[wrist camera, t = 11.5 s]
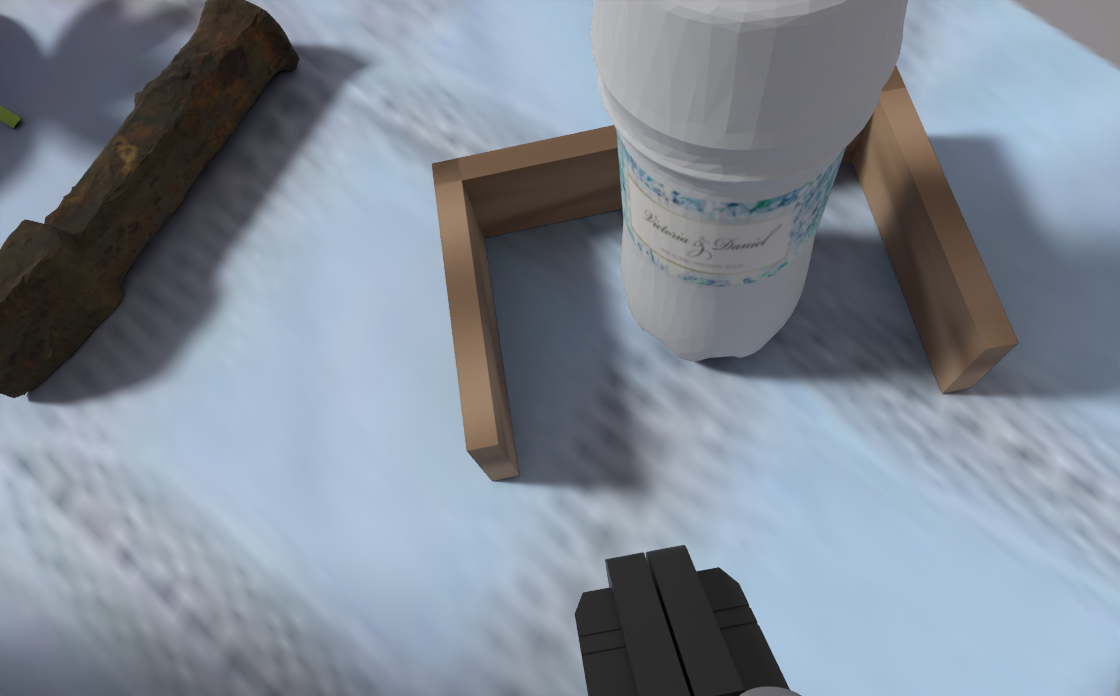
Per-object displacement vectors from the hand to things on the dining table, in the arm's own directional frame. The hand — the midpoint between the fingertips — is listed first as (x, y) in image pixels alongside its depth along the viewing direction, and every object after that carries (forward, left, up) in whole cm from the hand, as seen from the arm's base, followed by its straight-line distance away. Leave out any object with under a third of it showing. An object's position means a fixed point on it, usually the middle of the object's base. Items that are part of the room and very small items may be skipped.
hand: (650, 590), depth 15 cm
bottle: (+11, +6, -12) cm, 17 cm away
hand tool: (0, +27, -12) cm, 29 cm away
